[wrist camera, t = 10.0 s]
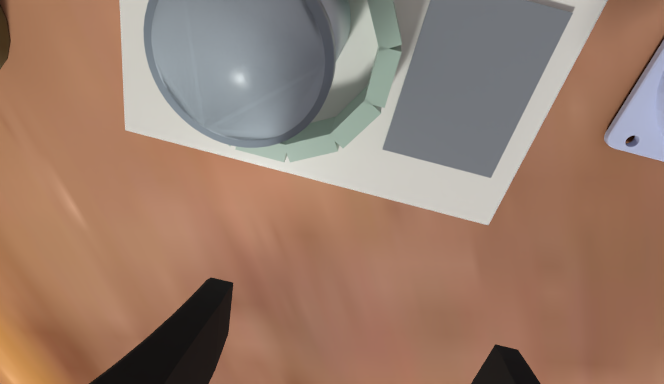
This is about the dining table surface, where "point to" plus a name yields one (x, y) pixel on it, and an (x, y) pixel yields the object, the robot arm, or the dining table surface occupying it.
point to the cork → (3, 38)
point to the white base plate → (408, 99)
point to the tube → (245, 63)
